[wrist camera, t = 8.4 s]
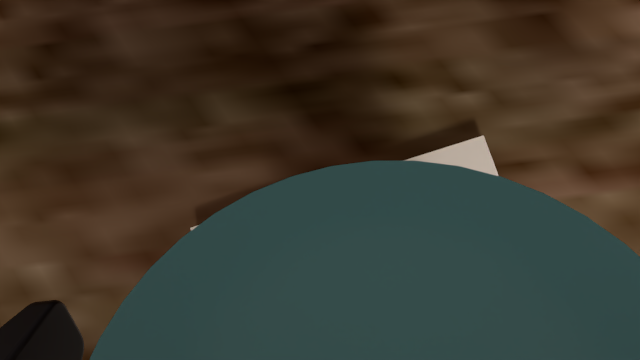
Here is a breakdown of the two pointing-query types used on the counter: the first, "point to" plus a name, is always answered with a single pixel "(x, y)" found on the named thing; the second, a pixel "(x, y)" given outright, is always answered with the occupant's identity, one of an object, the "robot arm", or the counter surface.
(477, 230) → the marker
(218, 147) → the counter surface
